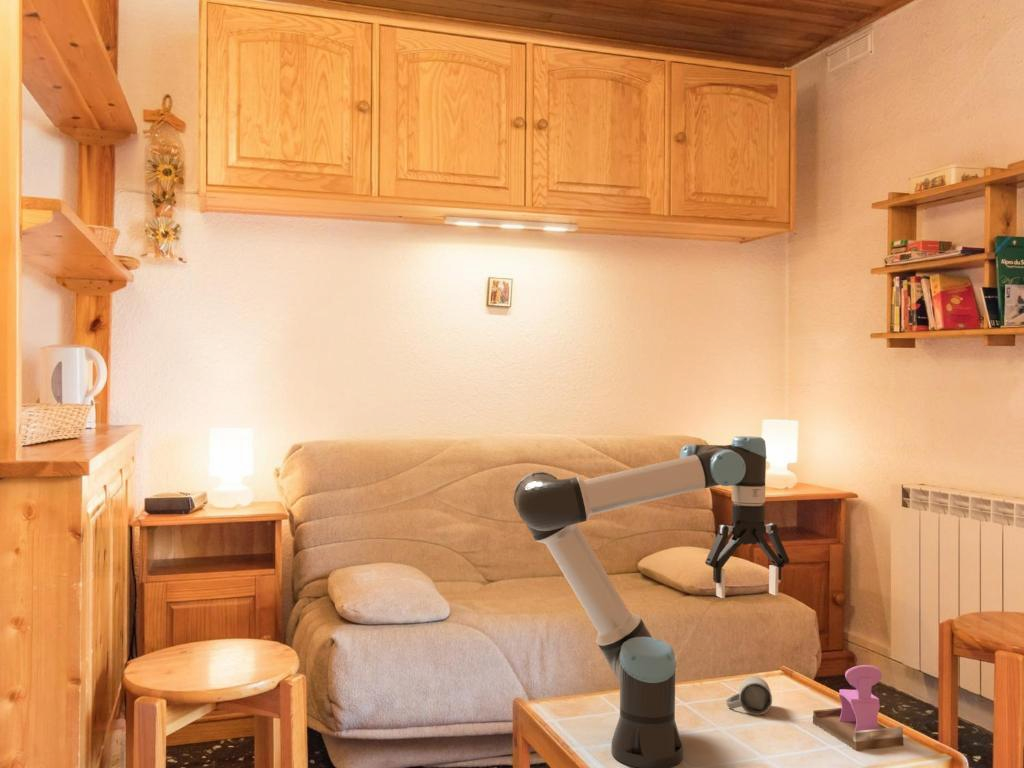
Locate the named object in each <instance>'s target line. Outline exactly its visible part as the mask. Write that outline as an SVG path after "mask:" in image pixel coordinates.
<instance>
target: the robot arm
mask: <svg viewBox="0 0 1024 768" xmlns="http://www.w3.org/2000/svg"><path fill="white" fill-rule="evenodd" d="M766 468H767V445H766V440H765V439H764V438H763V437H761V436H745V435H744V436H737V435H736V436H734V437H733V438H732V442H731V444H726V445H721V444H720V445H719V444H686V445H684V446H683V447H681V450H680V454H679V458H675V459H671V460H670V459H669V460H666V461H663V462H662V461H661V462H657V463H652V464H649V465H644V466H640V467H636V468H635V467H634V468H631V469H627V470H622V471H618V472H614V473H610V474H606V475H605V474H604V475H601V476H597V477H596V476H595V477H592V478H588V479H582V478H580V477H579V476H575V477H570V478H563V479H558V478H557V477H556V476H555V475H553V474H551V473H548V472H543V471H542V472H541V471H540V472H539V471H537V472H532V473H530V474H528V475H526V476H525V477H522V479H521V480H520V481H519V482H518V483H517V485H516V487H515V489H514V493H513V503H514V504H513V505H514V506H515V509H516V511H517V513H518V515H519V517H520V519H521V520H522V521H523V523H524V524H525V525H526V527H527V528H528V530H529V532H530V533H531V535H532V537H533V539H534V540H535V542H538V543H541V544H544V545H545V546H546V547H547V549H548V551H549V552H550V554H551V556H552V557H553V559H554V561H555V562H556V565H557V566H558V568H559V569H560V571H561V572H562V574H563V576H564V578H565V579H566V581H567V583H568V584H569V586H570V587H571V589H572V590H573V592H574V594H575V596H576V598H577V599H578V602H580V605H581V606H582V608H583V609H584V611H585V613H586V614H587V616H588V618H589V620H590V621H591V623H592V624H593V626H594V628H595V629H596V631H597V636H596V639H595V641H596V644H597V646H598V648H599V649H600V652H602V654H603V656H604V658H605V659H606V661H607V663H608V665H609V667H610V669H611V670H612V671H613V673H614V675H615V677H616V679H617V680H618V682H619V718H618V721H617V724H616V727H615V730H614V732H613V735H612V738H611V755H612V757H613V758H614V759H615V760H616V761H618V762H620V763H622V764H624V765H627V766H630V767H633V768H671V767H674V766H676V765H678V764H680V763H681V762H682V761H683V758H684V746H683V742H682V738H681V736H680V733H679V730H678V729H679V728H678V726H677V723H676V714H675V710H676V669H677V661H676V655H675V650H674V649H673V647H672V646H671V644H669V643H668V642H667V641H664V640H660V639H659V638H656V637H653V636H652V634H651V633H650V630H648V628H647V626H646V624H645V623H644V621H643V620H642V618H641V616H640V615H639V614H636V613H632V612H630V610H629V609H628V607H627V606H626V604H625V602H624V600H623V599H622V597H621V596H620V593H619V592H618V590H617V589H616V587H615V585H614V584H613V582H612V580H611V578H610V577H609V575H608V573H607V572H606V570H605V569H604V567H603V565H602V563H601V562H600V559H599V558H598V557H597V555H596V553H595V552H594V550H593V548H592V547H591V545H590V543H589V541H588V539H587V538H586V536H585V535H584V533H583V531H582V529H581V528H580V527H579V524H580V523H583V522H588V520H589V519H590V518H591V516H593V515H597V514H601V513H605V512H609V511H613V510H618V509H622V508H627V507H630V506H636V505H639V504H643V503H647V502H652V501H657V500H661V499H665V498H669V497H673V496H678V495H682V494H686V493H689V492H695V491H698V490H703V489H709V488H713V487H718V486H722V487H724V486H725V487H731V501H732V502H733V503H732V504H731V524H730V525H724V524H719V526H718V531H717V535H716V538H715V540H714V541H713V544H712V546H711V548H710V551H709V552H708V554H707V557H706V559H705V561H704V562H705V564H706V565H707V566H709V567H712V577H713V578H712V580H713V582H714V583H716V584H715V587H716V588H715V596H717V597H719V598H721V599H725V598H726V569H724V568H723V567H724V566H725V564H726V563H727V562H728V561H729V559H730V558H731V556H732V555H733V554H734V553H735V551H736V550H737V549H738V548H739V547H740V546H741V545H745V546H748V545H750V544H751V545H758V546H759V548H760V549H761V550H762V552H763V553H764V554H765V556H766V557H767V558H768V559H769V561H770V562H771V564H769V565H768V573H769V574H768V593H769V594H771V595H773V596H774V597H775V596H778V595H779V581H781V580H782V568H784V567H785V565H787V564H789V563H790V559H789V556H788V554H787V552H786V550H785V547H784V545H783V542H782V540H781V538H780V536H779V533H778V532H779V531H778V525H777V524H775V523H772V522H768V523H767V524H765V520H766V506H765V505H764V504H765V503H766V473H767V472H766ZM765 532H766V533H767V534H768V538H769V540H770V542H771V544H772V546H773V549H774V550H773V549H772V547H771V545H769V543H768V541H767V540H766V539H765V537H764V534H765ZM730 534H732V536H731V537H730V538H729V539H728V536H729V535H730ZM727 540H728V542H727V544H726V541H727ZM725 544H726V545H725ZM724 546H725V547H724Z"/></svg>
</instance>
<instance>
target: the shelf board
mask: <svg viewBox="0 0 1024 768" xmlns="http://www.w3.org/2000/svg"><path fill="white" fill-rule="evenodd" d="M841 711H842V707H835V708H828V709H817V710H813V713H812V714H813V715H812V723H813V725H815V724H816V726H817V727H818V726H819V727H818V728H819V729H821V728H822V729H821V730H823V729H824V730H823V731H825V732H826V733H827V734H829V733H830V734H829V735H831V736H832V735H833V737H834V736H835V737H836V739H837V738H838V741H840V740H841V743H843V742H844V743H843V744H845V743H846V744H847V746H848V745H849V746H848V747H850V748H851V747H852V748H851V749H852V750H855V751H856V752H857V751H866V749H867V750H874V749H882V748H892V747H902V746H904V730H903V729H904V728H903V727H902V726H893V727H892V726H891V727H886V726H884V725H883V724H881V723H879V722H878V726H879V728H880V729H871V730H862V731H855V728H856V722H840V721H839V719H840V716H841ZM835 737H834V738H835ZM846 744H845V745H846Z"/></svg>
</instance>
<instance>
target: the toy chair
mask: <svg viewBox="0 0 1024 768" xmlns="http://www.w3.org/2000/svg"><path fill="white" fill-rule="evenodd" d="M844 676H845V680H846V681H847V682H848V684H849V685H850V686H852V687H853V688H855V689H846V688H845V689H843V688H842V689H839V694H838V698H839V699H840V705H841V708H842V711H841V716H840V719H839V721H840V722H856V728H855V731H862V730H871V729H880V728H879V726H878V723H879V722H878V716H879V711H880V708H881V705H880V698H878V697H877V696H876V695H874V694H873V693H872V687H873V686H875V685H876V684H879V682H880V681H881V680H882V679H883V672H882V671H881V669H879V667H877V666H875V665H870V664H861V665H856V666H853V667H851V668H848V669H847V670H845V674H844Z"/></svg>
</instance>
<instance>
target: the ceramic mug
mask: <svg viewBox="0 0 1024 768" xmlns="http://www.w3.org/2000/svg"><path fill="white" fill-rule="evenodd" d="M725 703H726V706H727V708H728V707H729V709H737V708H740V707H741V708H742V709H743V711H745V712H746V713H748V714H750V715H753V716H761V715H763V714H766V713H767V712H768V711H769V710H770V709H771V706H772V703H773V695H772V692H771V689H770V687H769V684H768V683H767V682H766V680H764V679H763V678H761V677H759V676H753V675H752V676H751V675H750V676H749V677H746V678H745V679H743V681H742V682H741V683H740V686H739V693H738V692H737V693H736V694H734V695H731V696H729V697H728V698H727V699H726V701H725Z"/></svg>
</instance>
